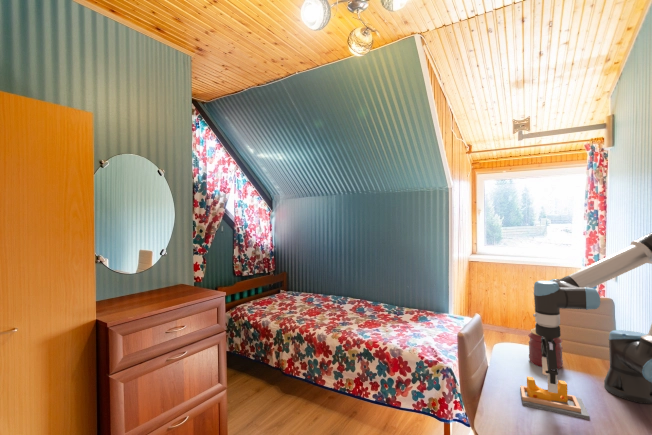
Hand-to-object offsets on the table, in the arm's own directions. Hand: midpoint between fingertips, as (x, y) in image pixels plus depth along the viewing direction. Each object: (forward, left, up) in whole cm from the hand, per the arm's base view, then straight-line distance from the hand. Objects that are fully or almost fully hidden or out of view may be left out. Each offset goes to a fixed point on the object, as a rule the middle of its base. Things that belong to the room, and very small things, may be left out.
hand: (549, 382), depth 117 cm
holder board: (-1, 0, -7) cm, 7 cm away
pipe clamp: (+1, 0, -6) cm, 6 cm away
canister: (-3, -37, -7) cm, 38 cm away
